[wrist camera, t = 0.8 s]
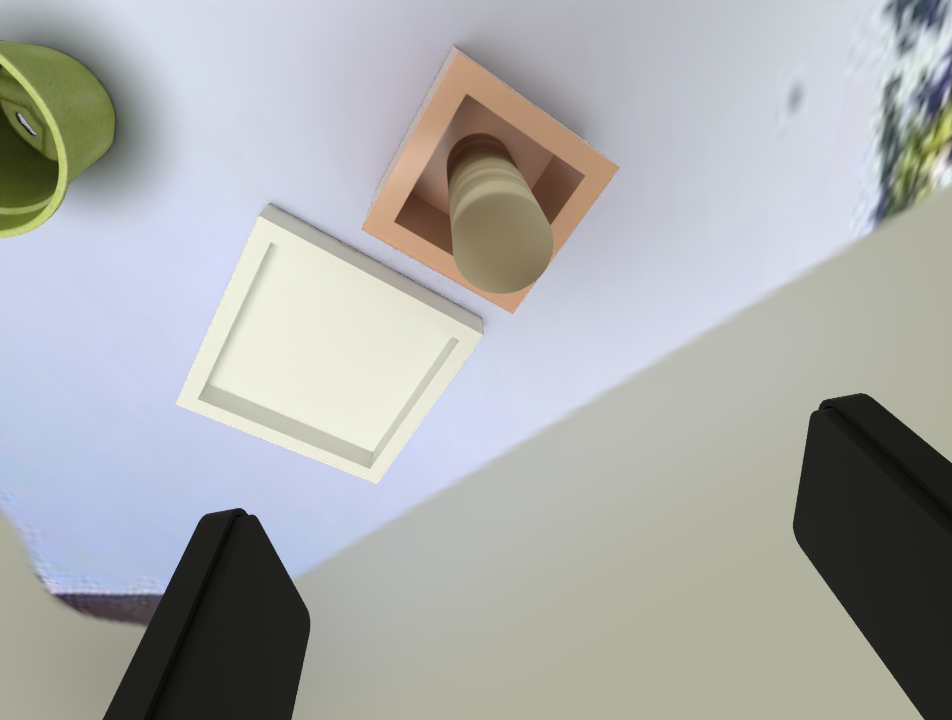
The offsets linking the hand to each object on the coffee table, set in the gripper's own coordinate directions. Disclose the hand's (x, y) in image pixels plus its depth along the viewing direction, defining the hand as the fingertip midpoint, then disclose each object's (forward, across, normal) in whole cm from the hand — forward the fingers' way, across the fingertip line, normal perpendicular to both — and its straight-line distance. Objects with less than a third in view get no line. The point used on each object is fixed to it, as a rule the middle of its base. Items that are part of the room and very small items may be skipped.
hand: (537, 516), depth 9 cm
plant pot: (+30, +22, -8) cm, 38 cm away
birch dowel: (+28, -1, 0) cm, 28 cm away
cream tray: (+30, +12, +11) cm, 34 cm away
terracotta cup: (+29, -1, 0) cm, 29 cm away
